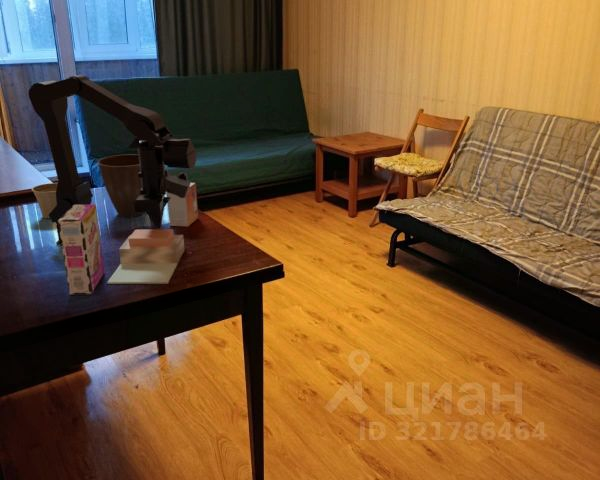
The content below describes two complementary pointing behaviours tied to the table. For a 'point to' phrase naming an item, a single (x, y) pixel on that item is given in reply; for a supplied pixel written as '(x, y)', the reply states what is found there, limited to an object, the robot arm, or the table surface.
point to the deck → (153, 252)
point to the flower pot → (46, 197)
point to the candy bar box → (81, 248)
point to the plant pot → (122, 182)
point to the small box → (183, 208)
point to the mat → (143, 273)
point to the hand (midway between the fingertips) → (158, 228)
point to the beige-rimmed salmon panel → (151, 238)
